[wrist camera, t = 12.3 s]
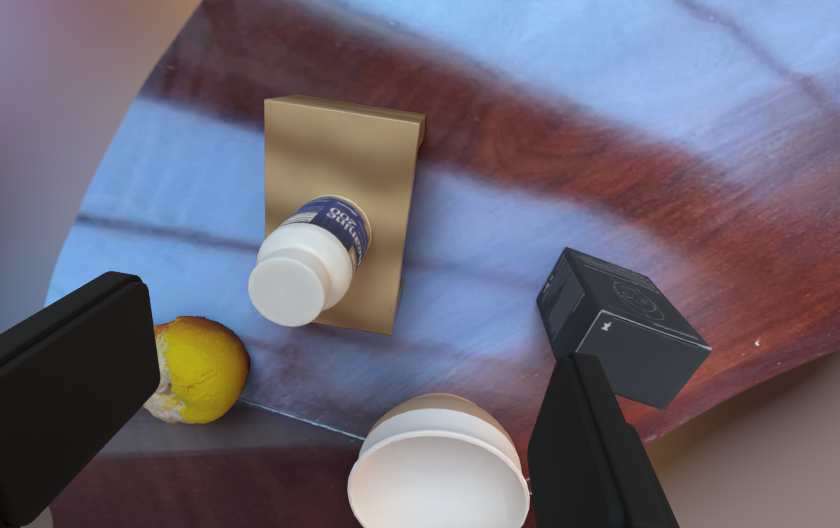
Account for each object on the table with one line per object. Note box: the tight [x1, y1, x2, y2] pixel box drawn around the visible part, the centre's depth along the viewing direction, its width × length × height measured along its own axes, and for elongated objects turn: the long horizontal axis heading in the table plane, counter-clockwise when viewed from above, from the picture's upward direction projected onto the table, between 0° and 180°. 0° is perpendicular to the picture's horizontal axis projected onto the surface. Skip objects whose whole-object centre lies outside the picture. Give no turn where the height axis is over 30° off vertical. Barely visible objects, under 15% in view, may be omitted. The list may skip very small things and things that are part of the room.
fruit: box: [143, 316, 250, 424], centre depth 42 cm, size 11×10×8 cm
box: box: [536, 247, 712, 411], centre depth 33 cm, size 8×6×11 cm
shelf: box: [265, 94, 426, 335], centre depth 34 cm, size 16×10×6 cm, turn 172°
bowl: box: [347, 393, 530, 528], centre depth 43 cm, size 16×16×8 cm
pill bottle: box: [248, 195, 371, 327], centre depth 27 cm, size 5×5×10 cm
